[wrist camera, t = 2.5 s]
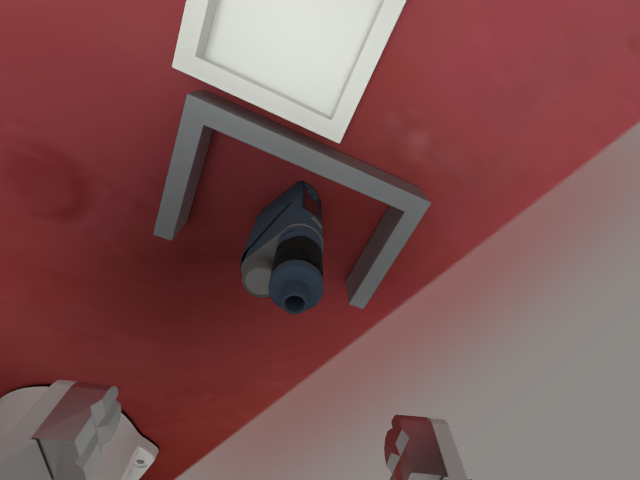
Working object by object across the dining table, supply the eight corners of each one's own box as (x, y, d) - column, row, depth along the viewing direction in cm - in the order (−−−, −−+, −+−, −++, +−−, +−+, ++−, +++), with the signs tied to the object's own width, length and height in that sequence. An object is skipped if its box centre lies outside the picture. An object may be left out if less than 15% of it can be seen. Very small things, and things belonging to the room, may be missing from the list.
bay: (358, 285, 28) (363, 309, 25) (170, 215, 25) (152, 234, 22) (418, 187, 24) (431, 202, 21) (203, 89, 21) (187, 93, 18)
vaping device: (328, 200, 24) (339, 308, 14) (274, 241, 26) (245, 367, 15) (305, 172, 23) (297, 265, 13) (250, 217, 25) (201, 333, 14)
